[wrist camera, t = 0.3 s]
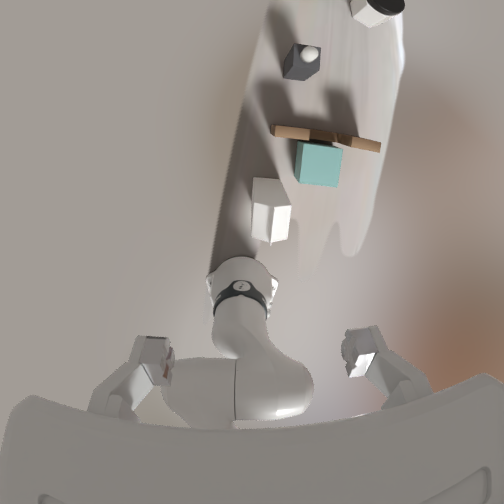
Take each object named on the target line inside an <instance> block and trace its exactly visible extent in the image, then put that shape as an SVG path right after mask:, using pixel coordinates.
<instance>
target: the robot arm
mask: <svg viewBox="0 0 504 504" xmlns="http://www.w3.org/2000/svg"><path fill="white" fill-rule="evenodd" d="M210 282H212V283H210ZM206 283H207V287H208V291H209V294H210V298H211V302H212V305H213V309H214V310H213V315H214V322H213V328H212V340H213V343H214V345H215V347H216V348H217V350H218V351H219V352H220V353H221V354H222V355H224V356H225V357H226V358H228V359H226V358H204V357H197V358H187V359H179V360H175V355H174V350H173V348H172V347H170V340H169V338H167V337H152V336H137V337H136V339H135V342H134V345H133V348H132V352H131V355H130V357H129V361H128V362H125V363H124V364H123V365H122V366H120V367H119V368H118V369H117V370H116V371H115V372H114V373H113V374H111V375H110V376H109V377H108V378H107V379H106V380H104V381H103V382H102V383H101V384H100V385H99V386H97V387H96V388H95V389H94V391H93V393H92V396H91V400H90V403H89V406H88V410H87V411H83V410H79V409H76V408H72V407H69V406H66V405H62V404H59V403H56V402H53V401H50V400H47V399H45V398H42V397H39V396H36V395H30V396H28V397H26V398H25V399H24V400H22V401H21V402H20V403H19V404H17V405H16V406H15V407H14V408H13V409H12V411H11V413H10V416H9V419H8V422H7V426H6V430H5V434H4V438H3V442H2V447H1V454H0V504H504V383H502V382H500V381H499V380H497V379H495V378H494V377H492V376H491V375H489V374H486V373H480V374H478V375H476V376H474V377H472V378H470V379H468V380H465V381H463V382H461V383H459V384H456V385H454V386H452V387H449V388H447V389H444V390H442V391H439V392H436V393H433V391H432V388H431V386H430V384H429V382H428V379H427V377H426V375H425V374H424V373H423V372H422V371H420V370H419V369H417V368H416V367H414V366H413V365H412V364H410V363H409V362H408V361H406V360H405V359H403V358H402V357H401V356H399V355H397V354H396V353H395V352H394V351H392V350H389V349H388V347H387V345H386V343H385V341H384V339H383V336H382V335H381V332H380V331H379V328H378V327H377V326H369V327H361V328H354V329H347V331H346V332H345V337H346V338H345V339H344V340H343V341H342V345H341V353H342V357H343V359H344V360H345V361H346V362H347V364H346V370H347V373H348V377H349V378H350V377H357V376H363V375H365V377H366V378H367V379H368V380H369V381H370V382H372V384H374V386H376V387H377V388H378V389H379V390H380V391H381V392H382V393H383V394H384V395H385V396H386V397H387V398H388V399H387V400H386V402H385V403H384V404H383V405H382V407H381V409H382V410H380V411H376V412H372V413H368V414H363V415H359V416H354V417H350V418H345V419H339V420H334V421H328V422H321V423H314V424H307V425H299V426H290V427H278V428H263V429H240V428H238V427H237V426H236V425H235V424H234V422H233V421H235V420H277V419H283V418H287V417H291V416H295V415H299V414H301V413H303V412H304V411H305V410H306V408H307V407H308V406H309V404H310V402H311V400H312V397H313V392H314V384H313V380H312V377H311V374H310V373H309V371H308V369H307V368H306V367H305V366H304V365H303V364H302V363H300V362H298V361H296V360H293V359H291V358H290V357H288V356H286V355H285V354H283V353H282V352H281V351H280V350H279V349H277V348H276V347H275V345H274V344H273V343H272V342H271V340H270V339H269V336H268V332H267V327H266V319H267V317H269V316H270V309H269V307H271V306H272V299H273V297H274V294H275V291H276V289H277V286H278V280H277V279H276V278H275V277H273V276H272V275H270V273H269V272H268V271H267V269H266V268H265V266H264V265H263V264H262V263H260V262H259V261H257V260H255V259H253V258H249V257H234V258H231V259H228V260H226V261H225V262H223V263H222V264H221V265H220V266H219V267H218V268H217V270H216V271H214V272H212V273H210V274H208V275H207V276H206ZM272 286H274V287H272ZM153 385H157V386H161V393H162V396H163V399H164V401H165V403H166V404H167V406H168V407H169V408H170V409H171V410H172V411H173V412H175V413H176V414H177V415H179V416H180V417H181V418H182V419H183V420H184V421H185V422H186V423H187V424H188V425H189V426H190V427H191V428H183V427H171V426H162V425H154V424H147V423H140V421H141V420H140V418H139V417H138V416H137V415H136V414H135V413H134V411H133V410H134V409H135V408H136V407H137V405H138V404H139V403H140V402H141V401H142V400H143V398H144V397H145V396H146V395H147V394H148V392H149V391H150V390H151V389H152V388H153Z"/></svg>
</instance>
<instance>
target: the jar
mask: <svg viewBox="0 0 504 504" xmlns="http://www.w3.org/2000/svg"><path fill="white" fill-rule="evenodd" d="M350 6H351V12H352V17H353V18H354V19H356V20H358V21H359V22H361V23H362V24H364V25H365V26H367V27H368V28H370V27H373V26H376V25H379V24H383V23H384V22H386V21H388V20H389V19H391V18H393V17H395V16H396V15H398V14H400V13H401V12H402V11H403V10H404V7H405V3H404V0H352V1H351V2H350Z"/></svg>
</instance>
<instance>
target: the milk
mask: <svg viewBox="0 0 504 504" xmlns="http://www.w3.org/2000/svg"><path fill="white" fill-rule="evenodd" d="M291 206H292V205H291V203H290V201H289V198H288V196H287V194H286V191H285V189H284V187H283V185H282V183H281V180H280V179H271V178H258V177H253V188H252V202H251V237H253V238H257V239H260V240H263V241H266V242H269V243H270V246H271V242H276V241H281V240H286V239H287V236H288V229H289V221H290V214H291Z"/></svg>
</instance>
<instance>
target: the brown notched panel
mask: <svg viewBox="0 0 504 504" xmlns="http://www.w3.org/2000/svg"><path fill="white" fill-rule="evenodd" d="M270 134H272V135H273V136H275V137H283V138H293V139H301V140H309V138H310V139H317V140H324V141H331V142H337V143H340V144H343V145H347V146H350V147H354V148H359V149H364V150H369V151H374V152H379V153H380V147H381V143H380V142H377V141H373V140H368V139H364V138H360V137H355V136H350V135H344V134H339V133H333V132H327V131H321V130H314V129H306V128H299V127H290V126H280V125H271V133H270Z"/></svg>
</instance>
